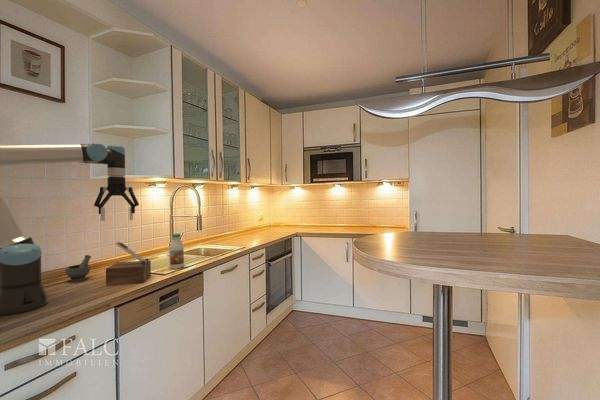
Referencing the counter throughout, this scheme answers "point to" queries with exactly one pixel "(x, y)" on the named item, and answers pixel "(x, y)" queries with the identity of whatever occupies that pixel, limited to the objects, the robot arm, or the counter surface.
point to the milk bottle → (176, 252)
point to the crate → (128, 272)
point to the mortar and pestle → (79, 270)
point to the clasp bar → (130, 251)
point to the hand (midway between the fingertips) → (117, 220)
